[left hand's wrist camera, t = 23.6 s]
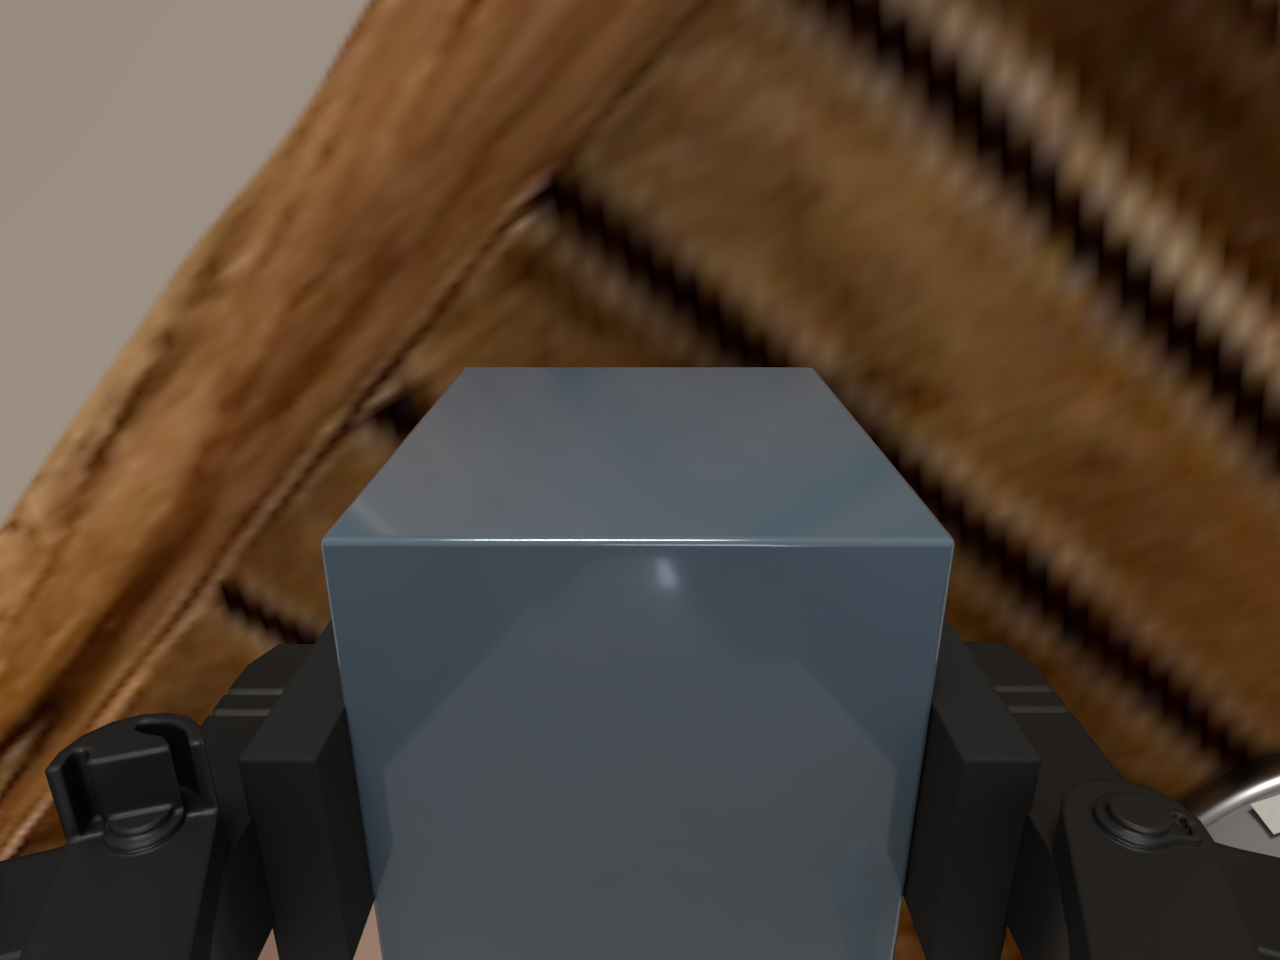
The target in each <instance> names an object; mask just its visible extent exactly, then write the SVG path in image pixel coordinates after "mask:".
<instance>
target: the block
mask: <svg viewBox="0 0 1280 960" xmlns="http://www.w3.org/2000/svg"><path fill="white" fill-rule="evenodd" d="M320 545H321V552H322V559H323V565H324V572H325V579H326V585H327V592H328V599H329V605H330V612H331V619H332V626H333V632H334V639H335V646H336V652H337V659H338V666H339V673H340V679H341V686H342V693H343V699H344V706H345V707H346V714H347V721H348V728H349V734H350V741H351V748H352V754H353V761H354V768H355V774H356V781H357V788H358V795H359V801H360V808H361V815H362V821H363V828H364V835H365V842H366V848H367V855H368V862H369V868H370V875H371V882H372V889H373V895H374V907H375V914H376V921H377V928H378V934H379V941H380V948H381V954H382V960H893V959H894V952H895V945H896V939H897V932H898V925H899V918H900V912H901V905H902V898H903V891H904V885H905V878H906V871H907V864H908V857H909V851H910V844H911V837H912V830H913V824H914V817H915V810H916V803H917V797H918V790H919V783H920V776H921V769H922V763H923V756H924V749H925V742H926V736H927V729H928V722H929V715H930V708H931V702H932V695H933V688H934V681H935V675H936V668H937V661H938V654H939V648H940V641H941V634H942V627H943V620H944V614H945V607H946V600H947V593H948V587H949V580H950V573H951V566H952V560H953V553H954V546H955V543H954V540H953V538H952V537H951V535H950V534H949V533H948V532H947V530H946V529H945V528H944V527H943V526H942V524H941V523H940V522H939V521H938V519H937V518H936V517H935V516H934V515H933V513H932V512H931V511H930V510H929V508H928V507H927V506H926V505H925V504H924V502H923V501H922V500H921V499H920V498H919V496H918V495H917V494H916V493H915V491H914V490H913V489H912V488H911V487H910V485H909V484H908V483H907V482H906V480H905V479H904V478H903V477H902V476H901V474H900V473H899V472H898V471H897V469H896V468H895V467H894V466H893V465H892V463H891V462H890V461H889V460H888V459H887V457H886V456H885V455H884V454H883V452H882V451H881V450H880V449H879V448H878V446H877V445H876V444H875V443H874V441H873V440H872V439H871V438H870V437H869V435H868V434H867V433H866V432H865V431H864V429H863V428H862V427H861V426H860V424H859V423H858V422H857V421H856V420H855V418H854V417H853V416H852V415H851V413H850V412H849V411H848V410H847V409H846V407H845V406H844V405H843V404H842V402H841V401H840V400H839V399H838V398H837V396H836V395H835V394H834V393H833V392H832V390H831V389H830V388H829V387H828V385H827V384H826V383H825V382H824V381H823V379H822V378H821V377H820V376H819V374H818V373H817V372H816V371H815V370H814V369H813V368H739V367H467V368H464V369H463V370H462V371H461V373H460V374H459V375H458V376H457V377H456V379H455V380H454V381H453V382H452V383H451V385H450V386H449V387H448V388H447V389H446V391H445V392H444V393H443V394H442V395H441V397H440V398H439V399H438V400H437V401H436V402H435V404H434V405H433V406H432V407H431V408H430V410H429V411H428V412H427V413H426V414H425V416H424V417H423V418H422V419H421V420H420V422H419V423H418V424H417V425H416V426H415V428H414V429H413V430H412V431H411V432H410V434H409V435H408V436H407V437H406V438H405V440H404V441H403V442H402V443H401V444H400V445H399V447H398V448H397V449H396V450H395V451H394V453H393V454H392V455H391V456H390V457H389V459H388V460H387V461H386V462H385V463H384V465H383V466H382V467H381V468H380V469H379V471H378V472H377V473H376V474H375V475H374V477H373V478H372V479H371V480H370V481H369V483H368V484H367V485H366V486H365V487H364V488H363V490H362V491H361V492H360V493H359V494H358V496H357V497H356V498H355V499H354V500H353V502H352V503H351V504H350V505H349V506H348V508H347V509H346V510H345V511H344V512H343V514H342V515H341V516H340V517H339V518H338V520H337V521H336V522H335V523H334V524H333V526H332V527H331V528H330V529H329V530H328V531H327V533H326V534H325V535H324V536H323V537H322V540H321V543H320Z"/></svg>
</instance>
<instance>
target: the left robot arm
mask: <svg viewBox="0 0 1280 960" xmlns="http://www.w3.org/2000/svg"><path fill="white" fill-rule="evenodd" d="M228 691H229V692H228V695H224V696H223V698H222V699H221V700H220V702H219V703H218V704H217V706H216V707H215V708H214V709H213V714H212V716H208V717H207V718H206V720H205V721H204V722H203V724H202V725H201V726H200V725H198V724H197V723H196V722H195V721H193V720H192V719H191V718H190V717H186V716H181V715H176V714H172V713H157V714H143V715H138V716H134V717H130V718H126V719H123V720H119V721H115V722H111V723H109V724H107V725H105V726H103V727H100V728H98V729H96V730H94V731H92V732H89V733H87V734H85V735H83V736H81V737H80V738H79V739H77V740H76V741H74V742H73V743H72V744H70V745H69V746H67V747H66V748H65V749H63V750H62V751H60V752H59V753H58V755H57V756H56V757H55V758H54V760H53V761H52V762H51V763H50V765H49V766H48V767H47V768H46V770H45V773H46V777H47V780H48V783H49V786H50V790H51V793H52V796H53V799H54V802H55V806H56V809H57V812H58V815H59V819H60V822H61V825H62V828H63V831H64V835H65V838H66V844H65V846H62V847H58V848H55V849H52V850H48V851H44V852H39V853H35V854H31V855H26V856H22V857H17V858H13V859H8V860H4V861H0V960H258V958H259V956H260V954H261V952H262V949H263V947H264V945H265V943H266V941H267V939H268V937H269V935H270V933H271V931H272V928H273V933H274V937H275V942H276V947H277V952H278V956H279V960H353V959H354V956H355V953H356V950H357V947H358V945H359V942H360V939H361V936H362V933H363V931H364V928H365V925H366V922H367V919H368V917H369V914H370V911H371V908H372V905H373V903H374V895H373V889H372V882H371V875H370V868H369V862H368V855H367V848H366V842H365V835H364V828H363V821H362V815H361V808H360V801H359V795H358V788H357V781H356V774H355V768H354V761H353V754H352V748H351V741H350V734H349V728H348V721H347V714H346V707H345V706H344V699H343V693H342V686H341V679H340V673H339V666H338V659H337V652H336V646H335V639H334V632H333V626H332V619H331V621H330V622H329V624H328V625H327V627H326V628H325V630H324V631H323V633H322V634H321V636H320V637H319V639H318V640H317V642H316V643H315V644H279V645H277V646H276V647H274V648H273V649H271V650H270V651H268V652H267V653H265V654H264V655H262V656H261V657H259V658H258V659H256V660H255V661H253V662H252V663H250V664H249V665H247V667H246V668H245V669H244V671H243V672H242V673H241V674H240V676H239V677H238V678H237V680H236V681H235V682H234V684H233V685H232V686H231V687H230V689H229V690H228ZM903 896H904V898H905V901H906V904H907V907H908V910H909V912H910V915H911V918H912V921H913V924H914V926H915V929H916V932H917V935H918V938H919V940H920V943H921V946H922V949H923V952H924V954H925V957H926V960H1000V959H1001V954H1002V949H1003V944H1004V939H1005V935H1006V930H1007V925H1008V928H1009V930H1010V932H1011V934H1012V936H1013V938H1014V940H1015V942H1016V944H1017V946H1018V948H1019V950H1020V953H1021V955H1022V957H1023V959H1024V960H1280V753H1278V754H1275V755H1272V756H1269V757H1265V758H1262V759H1260V760H1257V761H1255V762H1252V763H1249V764H1247V765H1244V766H1242V767H1240V768H1237V769H1235V770H1233V771H1231V772H1229V773H1227V774H1224V775H1222V776H1221V777H1219V778H1217V779H1215V780H1213V781H1212V782H1210V783H1208V784H1206V785H1204V786H1203V787H1201V788H1200V789H1198V790H1196V791H1195V792H1193V793H1192V794H1190V795H1189V796H1187V797H1186V798H1184V799H1183V800H1182V801H1180V802H1179V803H1178V802H1177V801H1175V800H1173V799H1171V798H1169V797H1167V796H1165V795H1163V794H1161V793H1159V792H1157V791H1155V790H1153V789H1151V788H1148V787H1145V786H1142V785H1138V784H1135V783H1132V782H1128V781H1125V780H1123V778H1122V777H1121V776H1120V775H1119V773H1118V772H1117V771H1116V769H1115V768H1114V767H1113V766H1112V764H1111V763H1110V762H1109V760H1108V759H1107V758H1106V757H1105V755H1104V754H1103V753H1102V751H1101V750H1100V749H1099V748H1098V746H1097V745H1096V744H1095V742H1094V741H1093V740H1092V739H1091V737H1090V736H1089V735H1088V733H1087V732H1086V731H1085V730H1084V728H1083V727H1082V726H1081V724H1080V723H1079V722H1078V721H1077V719H1076V718H1075V717H1074V715H1073V714H1072V713H1068V711H1067V706H1066V705H1065V704H1064V703H1063V701H1062V700H1061V699H1060V697H1059V696H1058V695H1057V694H1056V692H1052V687H1051V686H1050V685H1049V683H1048V682H1047V681H1046V679H1045V678H1044V677H1043V676H1042V674H1041V673H1040V672H1039V670H1038V669H1037V668H1036V667H1035V665H1034V664H1033V663H1032V662H1031V661H1029V660H1028V659H1026V658H1025V657H1023V656H1022V655H1020V654H1019V653H1017V652H1016V651H1014V650H1013V649H1011V648H1010V647H1008V646H1007V645H1005V644H1004V643H1002V642H963V641H962V640H961V638H960V637H959V635H958V634H957V632H956V631H955V629H954V628H953V626H952V625H951V623H950V622H949V620H948V619H947V617H946V616H945V614H944V620H943V627H942V634H941V641H940V648H939V654H938V661H937V668H936V675H935V681H934V688H933V695H932V702H931V708H930V715H929V722H928V729H927V736H926V742H925V749H924V756H923V763H922V769H921V776H920V783H919V790H918V797H917V803H916V810H915V817H914V824H913V830H912V837H911V844H910V851H909V857H908V864H907V871H906V878H905V885H904V891H903Z"/></svg>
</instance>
